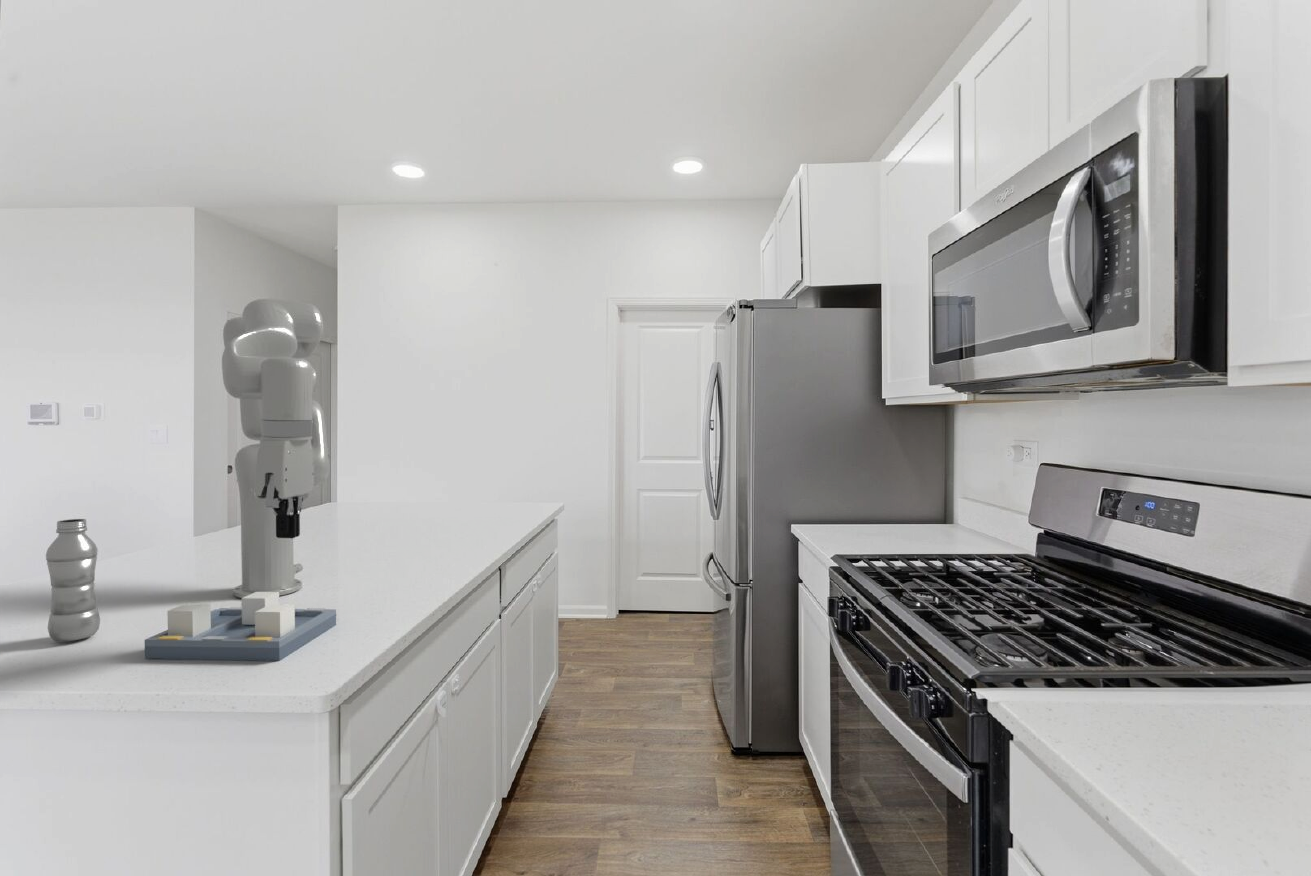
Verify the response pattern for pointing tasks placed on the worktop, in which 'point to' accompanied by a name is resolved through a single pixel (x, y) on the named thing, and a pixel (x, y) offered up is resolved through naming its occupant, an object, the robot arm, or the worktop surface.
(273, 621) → the tab
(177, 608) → the tab
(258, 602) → the tab
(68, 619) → the plastic bottle
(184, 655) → the switch bank
